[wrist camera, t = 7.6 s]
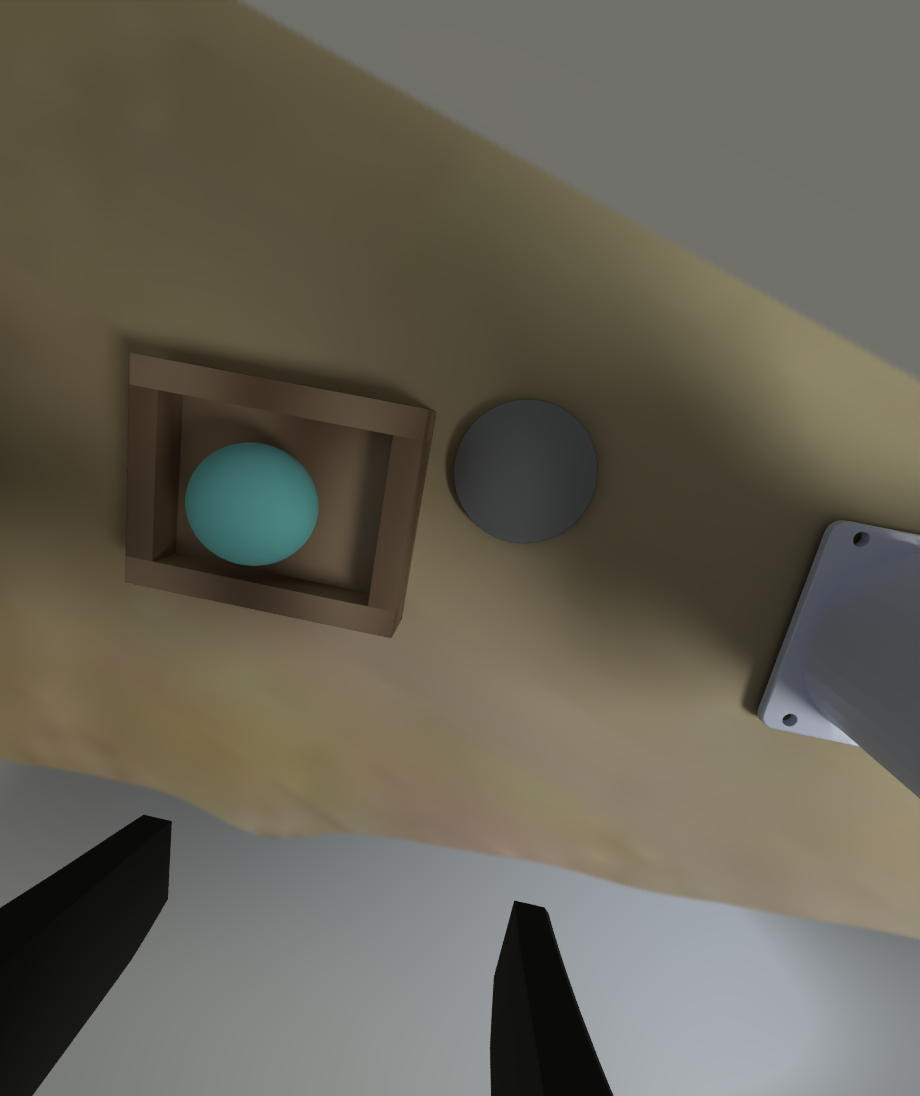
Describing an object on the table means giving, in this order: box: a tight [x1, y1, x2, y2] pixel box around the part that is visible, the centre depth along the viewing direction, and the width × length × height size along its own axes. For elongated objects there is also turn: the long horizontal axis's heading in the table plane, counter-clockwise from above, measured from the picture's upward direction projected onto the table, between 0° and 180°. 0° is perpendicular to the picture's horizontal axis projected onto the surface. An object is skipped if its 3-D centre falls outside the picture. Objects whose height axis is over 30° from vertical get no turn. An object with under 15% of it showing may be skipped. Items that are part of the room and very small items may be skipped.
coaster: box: [454, 399, 598, 543], centre depth 17 cm, size 5×5×1 cm
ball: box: [185, 443, 319, 566], centre depth 16 cm, size 4×4×4 cm
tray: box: [125, 353, 436, 638], centre depth 17 cm, size 10×8×2 cm
